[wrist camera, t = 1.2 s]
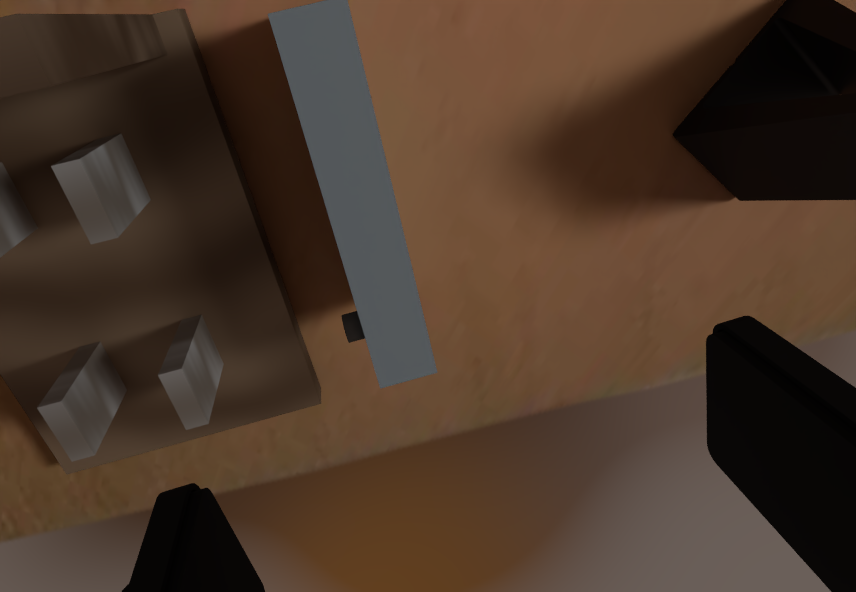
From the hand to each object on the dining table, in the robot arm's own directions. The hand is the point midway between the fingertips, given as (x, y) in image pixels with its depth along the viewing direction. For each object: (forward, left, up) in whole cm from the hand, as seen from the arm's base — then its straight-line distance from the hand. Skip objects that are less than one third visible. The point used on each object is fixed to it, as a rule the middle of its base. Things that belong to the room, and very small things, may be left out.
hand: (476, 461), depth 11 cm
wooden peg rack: (+1, -13, -21) cm, 24 cm away
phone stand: (+1, +21, -21) cm, 30 cm away
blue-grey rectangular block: (-1, -1, -21) cm, 21 cm away
